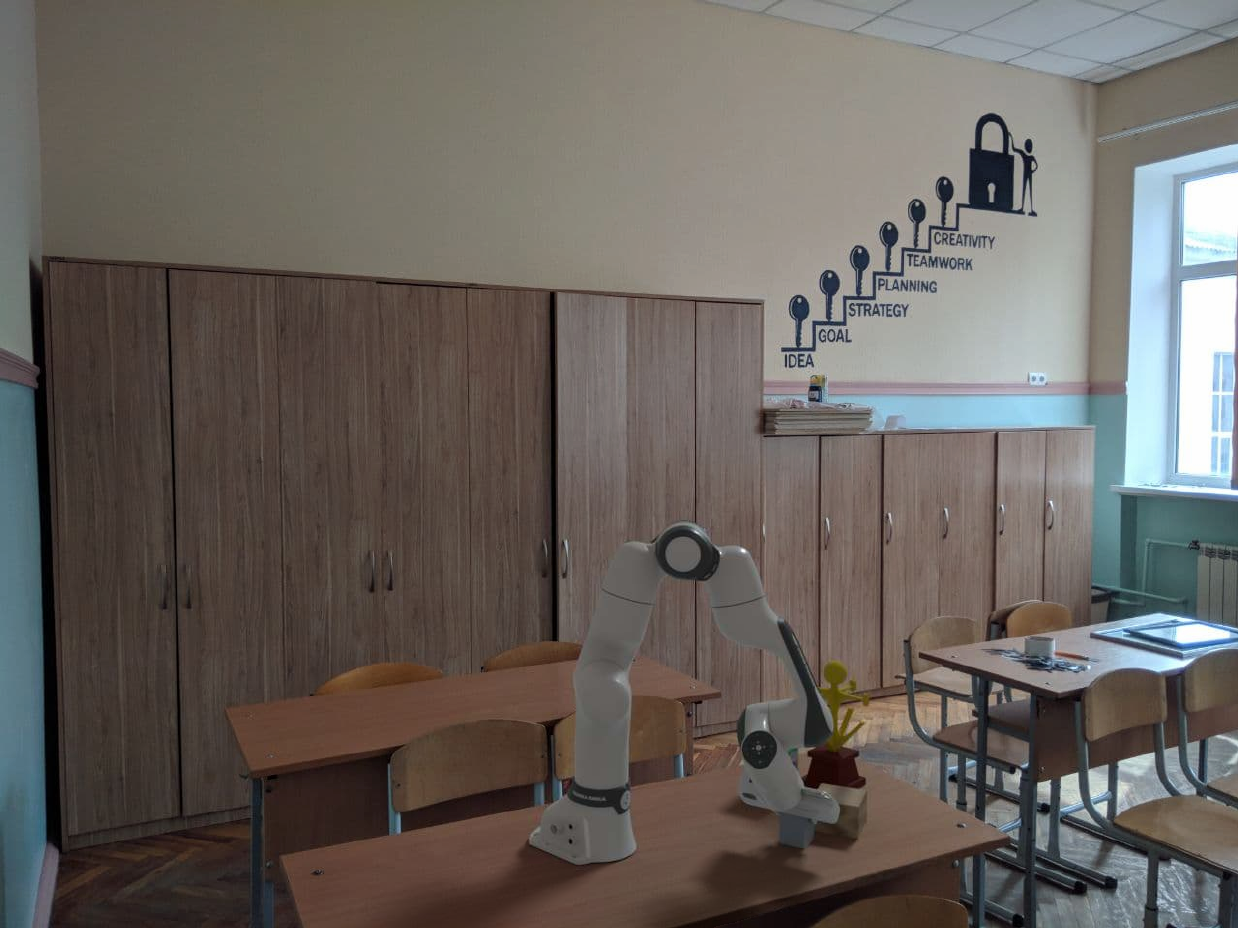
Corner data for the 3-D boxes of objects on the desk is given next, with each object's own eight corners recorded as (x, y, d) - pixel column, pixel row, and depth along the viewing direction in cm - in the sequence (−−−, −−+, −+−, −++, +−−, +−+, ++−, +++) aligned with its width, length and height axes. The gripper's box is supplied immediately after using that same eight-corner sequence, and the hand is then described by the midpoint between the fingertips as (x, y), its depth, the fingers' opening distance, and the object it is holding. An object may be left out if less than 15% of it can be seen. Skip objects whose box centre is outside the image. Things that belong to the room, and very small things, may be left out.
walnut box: (810, 831, 210) (811, 799, 210) (821, 813, 219) (821, 782, 219) (858, 839, 206) (858, 806, 206) (866, 821, 215) (867, 790, 215)
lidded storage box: (778, 842, 204) (778, 800, 204) (788, 832, 209) (789, 790, 209) (804, 849, 201) (805, 806, 201) (814, 838, 206) (815, 796, 206)
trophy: (793, 772, 244) (794, 653, 242) (855, 772, 244) (857, 653, 242) (805, 795, 229) (806, 668, 228) (871, 795, 229) (873, 668, 228)
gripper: (834, 781, 193) (850, 813, 202) (739, 762, 203) (757, 792, 212) (826, 811, 189) (842, 842, 198) (729, 790, 200) (749, 820, 209)
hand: (798, 816), depth 205 cm, fingers closed on lidded storage box, 5 cm apart
